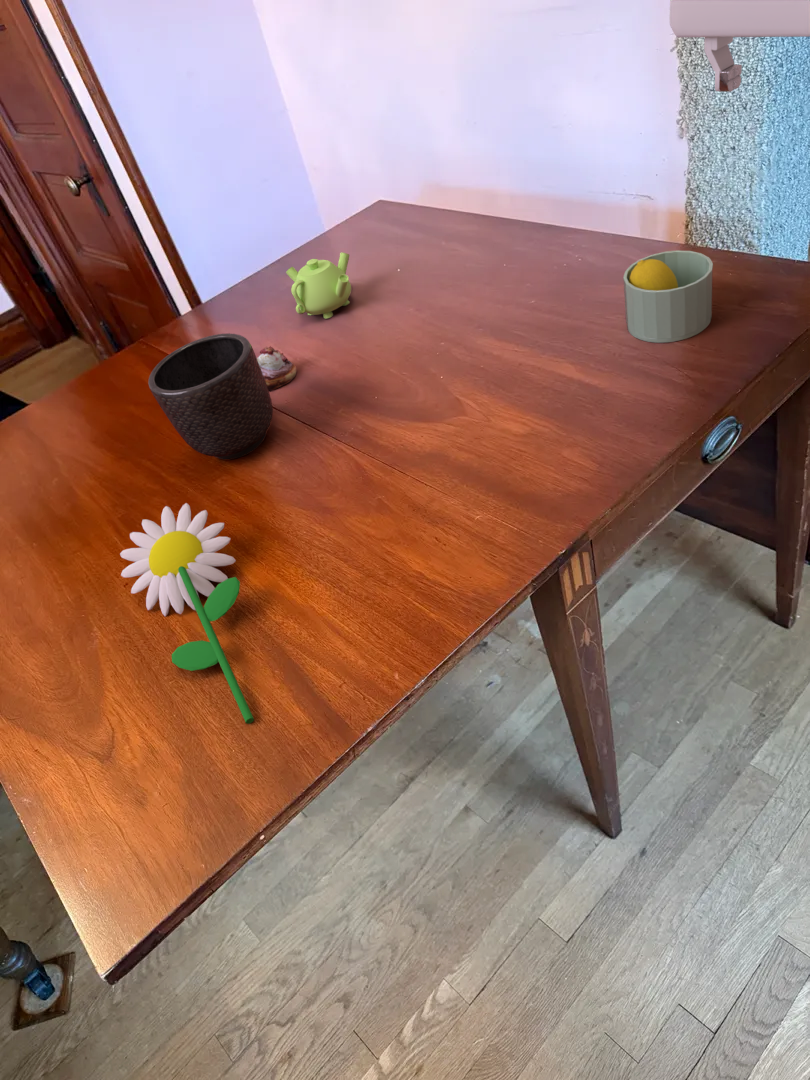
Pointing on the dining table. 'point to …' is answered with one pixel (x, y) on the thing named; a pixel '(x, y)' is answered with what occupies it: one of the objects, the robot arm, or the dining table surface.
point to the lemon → (653, 276)
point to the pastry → (275, 368)
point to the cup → (671, 300)
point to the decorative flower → (187, 583)
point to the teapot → (321, 286)
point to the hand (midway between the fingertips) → (773, 92)
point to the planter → (215, 395)
